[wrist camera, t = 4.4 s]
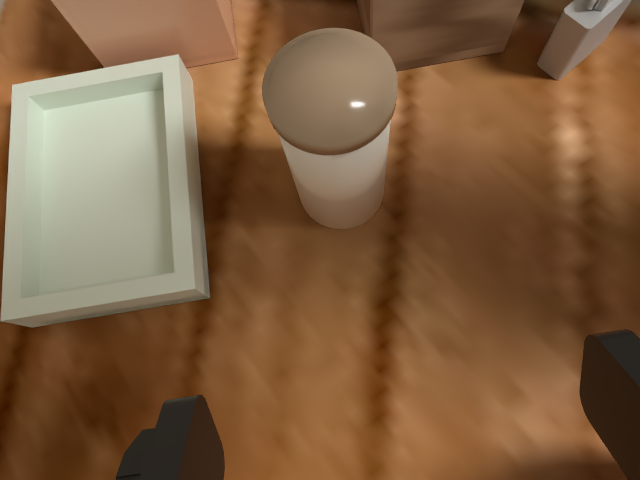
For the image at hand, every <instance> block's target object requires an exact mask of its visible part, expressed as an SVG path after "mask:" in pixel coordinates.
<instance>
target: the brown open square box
mask: <svg viewBox="0 0 640 480" xmlns="http://www.w3.org/2000/svg"><path fill="white" fill-rule="evenodd" d="M356 3H357V8H358V13H359V17H360V22H361V27H362V31H363V34H365V35H367V36H369V37H370V38H372V39H373V40H375V41H376V42H378V43H379V44H380V45H381V46H382V47H383V48H384V49H385V50H386V51H387V53H388V54H389V56H390V57H391V59H392V61H393V63H394V65H395V68H396V71H400V70H406V69H411V68H417V67H422V66H428V65H433V64H439V63H444V62H450V61H455V60H461V59H466V58H472V57H477V56H483V55H488V54H494V53H500V52H504V50H505V47H506V45H507V42H508V40H509V38H510V35H511V33H512V30H513V28H514V25H515V23H516V20H517V18H518V15H519V13H520V10H521V8H522V5H523V3H524V0H356Z"/></svg>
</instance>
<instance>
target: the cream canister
mask: <svg viewBox="0 0 640 480" xmlns="http://www.w3.org/2000/svg"><path fill="white" fill-rule="evenodd" d="M397 90H398V78H397V72H396V68H395V65H394V63H393V61H392V59H391V57H390V56H389V54H388V53H387V51H386V50H385V49H384V48H383V47H382V46H381V45H380V44H379V43H378V42H376V41H375V40H373V39H372V38H370V37H369V36H367V35H365V34H362V33H360V32H357V31H354V30H349V29H344V28H324V29H318V30H313V31H310V32H307V33H304V34H302V35H300V36H298V37H296V38H294V39H293V40H291V41H289V42H288V43H287V44H285V45H284V46H283V47H282V48H281V49H280V50H279V51H278V52H277V53H276V54H275V56H274V57H273V58H272V60H271V61H270V63H269V65H268V67H267V69H266V72H265V74H264V78H263V85H262V95H263V101H264V105H265V108H266V111H267V113H268V116H269V119H270V122H271V124H272V125H273V127H274V129H275V130H276V132H277V133H278V134H279V137H280V140H281V143H282V146H283V149H284V152H285V155H286V158H287V161H288V164H289V167H290V170H291V173H292V176H293V179H294V182H295V185H296V188H297V191H298V194H299V197H300V200H301V203H302V206H303V208H304V209H305V211H306V212H307V214H308V215H309V216H310V217H311V218H312V219H313V220H314V221H316V222H317V223H319V224H321V225H323V226H325V227H328V228H332V229H349V228H354V227H356V226H359V225H361V224H363V223H365V222H366V221H368V220H369V219H370V218H371V217H372V216H373V215H374V214H375V213H376V212H377V210H378V209H379V207H380V205H381V203H382V200H383V196H384V188H385V177H386V166H387V155H388V144H389V133H390V122H391V118H392V116H393V113H394V110H395V106H396V100H397Z"/></svg>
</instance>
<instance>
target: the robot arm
mask: <svg viewBox="0 0 640 480" xmlns="http://www.w3.org/2000/svg"><path fill="white" fill-rule="evenodd" d="M580 398H581V403H582V406H583V409H584V412H585V414H586V416H587V418H588V420H589V422H590V423H591V425H592V426H593V428H594V429H595V431H596V432H597V434H598V435H599V437H600V438H601V440H602V441H603V443H604V444H605V446H606V447H607V449H608V450H609V452H610V453H611V455H612V456H613V458H614V459H615V461H616V462H617V464H618V465H619V466H620V468H621V469H622V471H623V472H624V474H625V475H626V477H627V478H628V480H640V338H639V337H638V336H637V335H636V334H634V333H633V332H632V331H630V330H627V329H624V330H618V331H612V332H605V333H599V334H593V335H588V336H587V337H586V339H585V342H584V351H583V361H582V371H581V381H580ZM224 469H225V463H224V452H223V447H222V443H221V440H220V437H219V435H218V432H217V429H216V427H215V424H214V421H213V418H212V416H211V413H210V410H209V408H208V405H207V402H206V400H205V398H204V397H203V396H202V395H197V396H190V397H184V398H178V399H171V400H167V401H165V402H164V404H163V406H162V409H161V412H160V415H159V418H158V421H157V424H156V428H152V429H146V430H142V431H141V432H140V434H139V435H138V436H137V438H136V439H135V440H134V441H133V443H132V444H131V445H130V447H129V448H128V449H127V450H126V452H125V453H124V456H123V459H122V462H121V464H120V467H119V470H118V472H117V475H116V480H223V479H224Z"/></svg>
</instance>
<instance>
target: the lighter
mask: <svg viewBox="0 0 640 480" xmlns="http://www.w3.org/2000/svg"><path fill="white" fill-rule="evenodd" d="M630 2H631V0H574V1H573V2H572V3H570V4H569V5H568V6H567V7H566V8H565V9H564V10H563V12H562V14H561V16H560V18H559V20H558V22H557V24H556V26H555V28H554V30H553V32H552V34H551V36H550V38H549V40H548V42H547V44H546V46H545V47H544V49H543V51H542V53H541V55H540V57H539V59H538V61H537V66H538V67H540V68H541V69H542V70H543V71H545V72H546V73H547V74H549V75H550V76H551V77H552V78H554V79H555V80H561V79H562V78H563V77H564V76H565V75H566V74H568V73H569V72H570V71H571V70H572V69H573V68H574V67H575V66H577V65H578V64H579V63H580V62H581V61H582V60H583V59H585V58H586V57H587V56H588V55H589V54H590V53H591V52H592V51H594V50H595V49H596V48H597V47H598V46H599V45H600V44H602V43H603V42H604V40H605V39H606V37H607V36H608V34H609V33H610V31H611V30H612V29H613V27H614V26H615V24H616V23H617V21H618V20H619V18H620V17H621V15H622V14H623V12H624V11H625V9H626V8H627V6H628V5H629V3H630Z"/></svg>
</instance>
